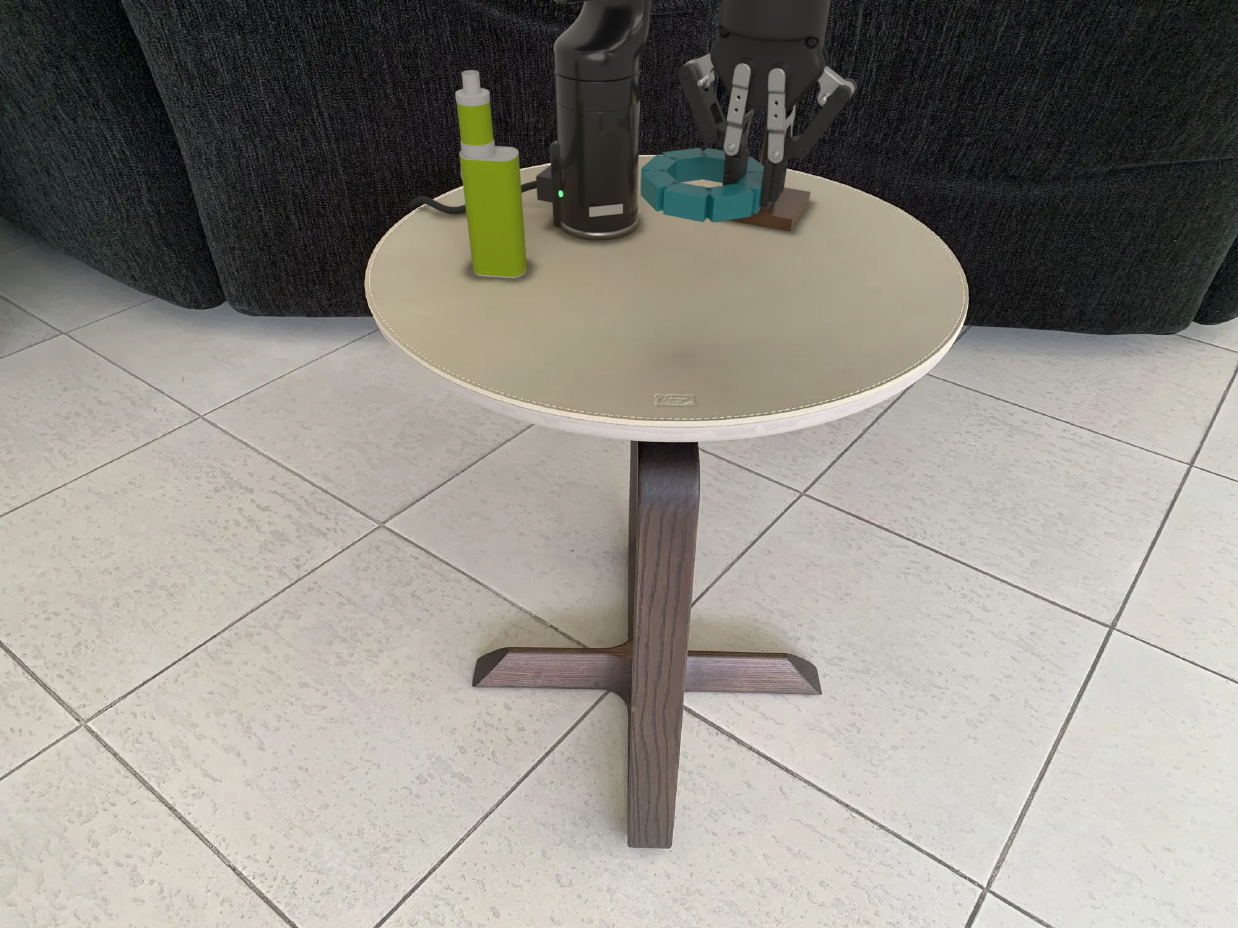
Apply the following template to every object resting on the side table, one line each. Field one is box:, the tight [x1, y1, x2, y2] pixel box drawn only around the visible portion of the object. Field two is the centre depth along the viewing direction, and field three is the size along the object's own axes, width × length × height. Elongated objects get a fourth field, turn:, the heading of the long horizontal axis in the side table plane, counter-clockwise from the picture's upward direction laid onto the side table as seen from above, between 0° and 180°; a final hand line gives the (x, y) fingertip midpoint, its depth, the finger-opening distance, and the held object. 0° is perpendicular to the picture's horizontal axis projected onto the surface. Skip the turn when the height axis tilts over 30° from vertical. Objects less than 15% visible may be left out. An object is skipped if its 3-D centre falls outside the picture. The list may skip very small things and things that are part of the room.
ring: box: [640, 147, 764, 223], centre depth 68 cm, size 10×10×2 cm
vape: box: [454, 69, 528, 279], centre depth 84 cm, size 4×6×20 cm, turn 82°
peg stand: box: [731, 113, 811, 232], centre depth 98 cm, size 9×9×15 cm
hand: (751, 200), depth 67 cm, fingers closed on ring, 2 cm apart
